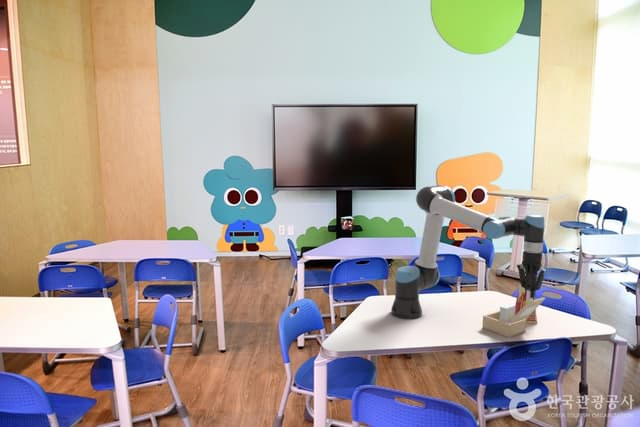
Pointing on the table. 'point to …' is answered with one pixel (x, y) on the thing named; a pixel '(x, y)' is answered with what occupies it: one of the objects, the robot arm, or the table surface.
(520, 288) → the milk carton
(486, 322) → the box
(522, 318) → the lid
